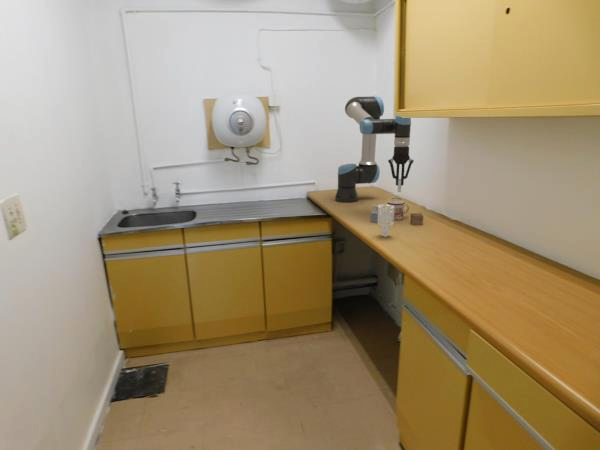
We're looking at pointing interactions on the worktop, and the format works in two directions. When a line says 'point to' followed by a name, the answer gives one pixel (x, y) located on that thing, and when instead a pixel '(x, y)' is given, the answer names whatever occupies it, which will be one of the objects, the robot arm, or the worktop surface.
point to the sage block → (376, 207)
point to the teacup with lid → (398, 208)
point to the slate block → (374, 217)
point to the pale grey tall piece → (385, 218)
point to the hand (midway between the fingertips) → (399, 191)
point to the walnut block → (416, 219)
